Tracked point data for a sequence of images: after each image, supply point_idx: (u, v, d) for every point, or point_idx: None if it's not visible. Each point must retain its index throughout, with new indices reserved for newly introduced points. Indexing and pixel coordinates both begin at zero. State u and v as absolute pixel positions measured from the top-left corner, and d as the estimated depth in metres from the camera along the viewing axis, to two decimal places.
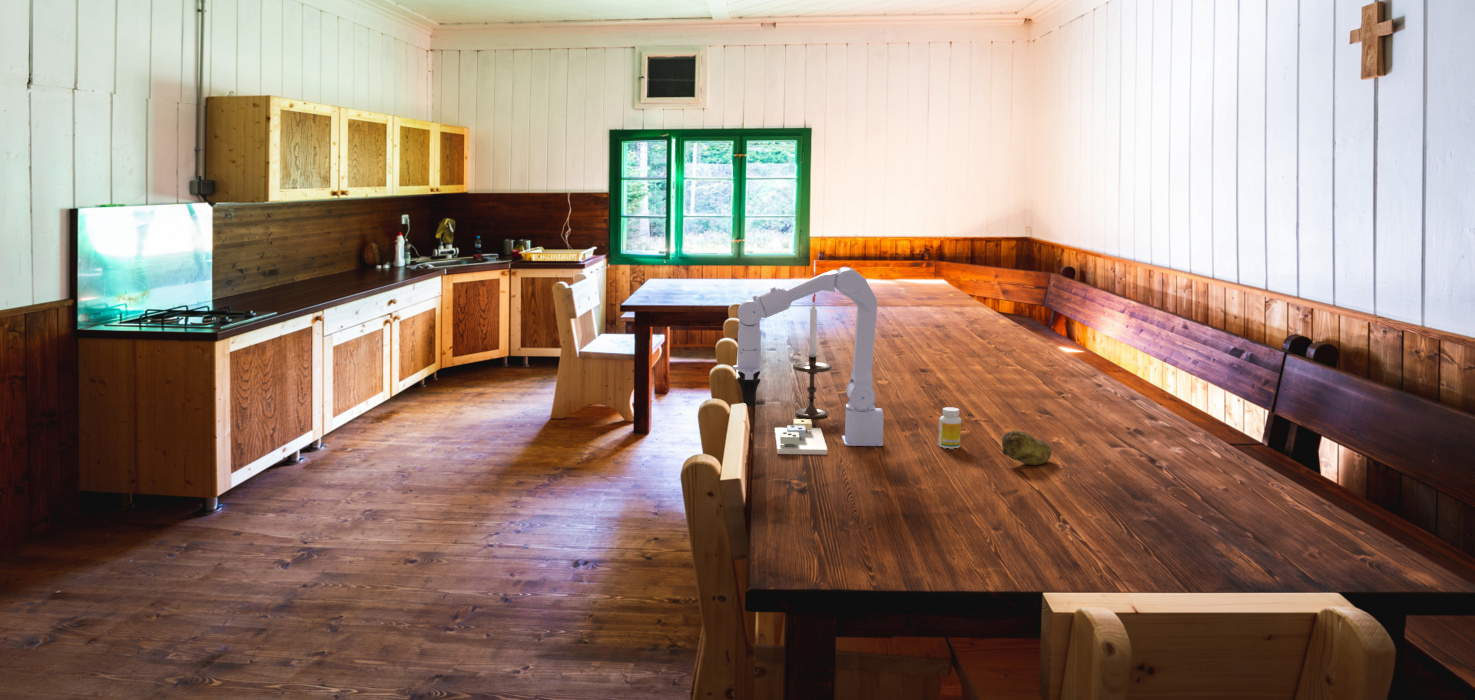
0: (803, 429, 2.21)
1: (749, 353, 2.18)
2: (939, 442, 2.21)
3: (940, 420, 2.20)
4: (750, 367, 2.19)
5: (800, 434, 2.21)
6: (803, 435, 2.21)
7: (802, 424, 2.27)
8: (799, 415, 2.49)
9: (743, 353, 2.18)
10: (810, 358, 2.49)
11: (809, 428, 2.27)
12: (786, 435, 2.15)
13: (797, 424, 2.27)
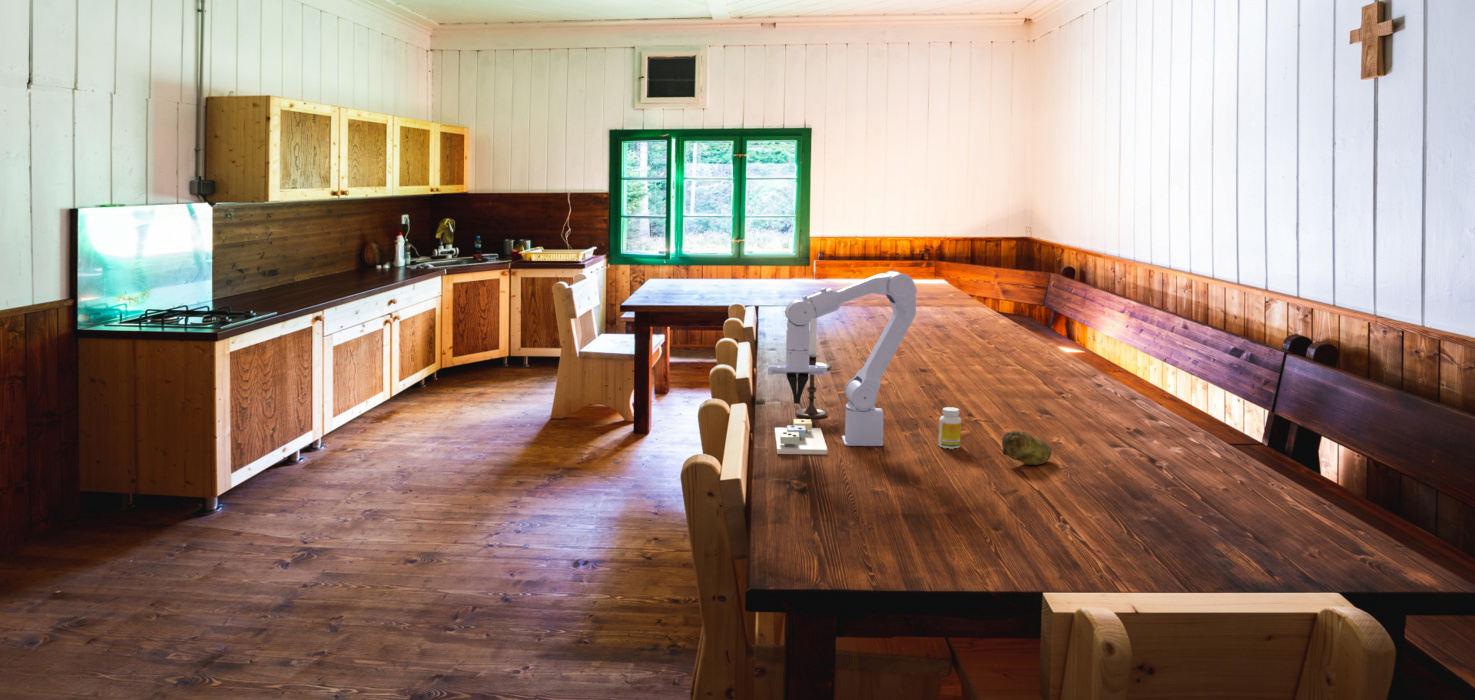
0: (803, 429, 2.21)
1: (786, 351, 2.19)
2: (939, 442, 2.21)
3: (940, 420, 2.20)
4: (786, 365, 2.20)
5: (800, 434, 2.21)
6: (803, 435, 2.21)
7: (802, 424, 2.27)
8: (799, 415, 2.49)
9: None
10: (810, 358, 2.49)
11: (809, 428, 2.27)
12: (786, 435, 2.15)
13: (797, 424, 2.27)
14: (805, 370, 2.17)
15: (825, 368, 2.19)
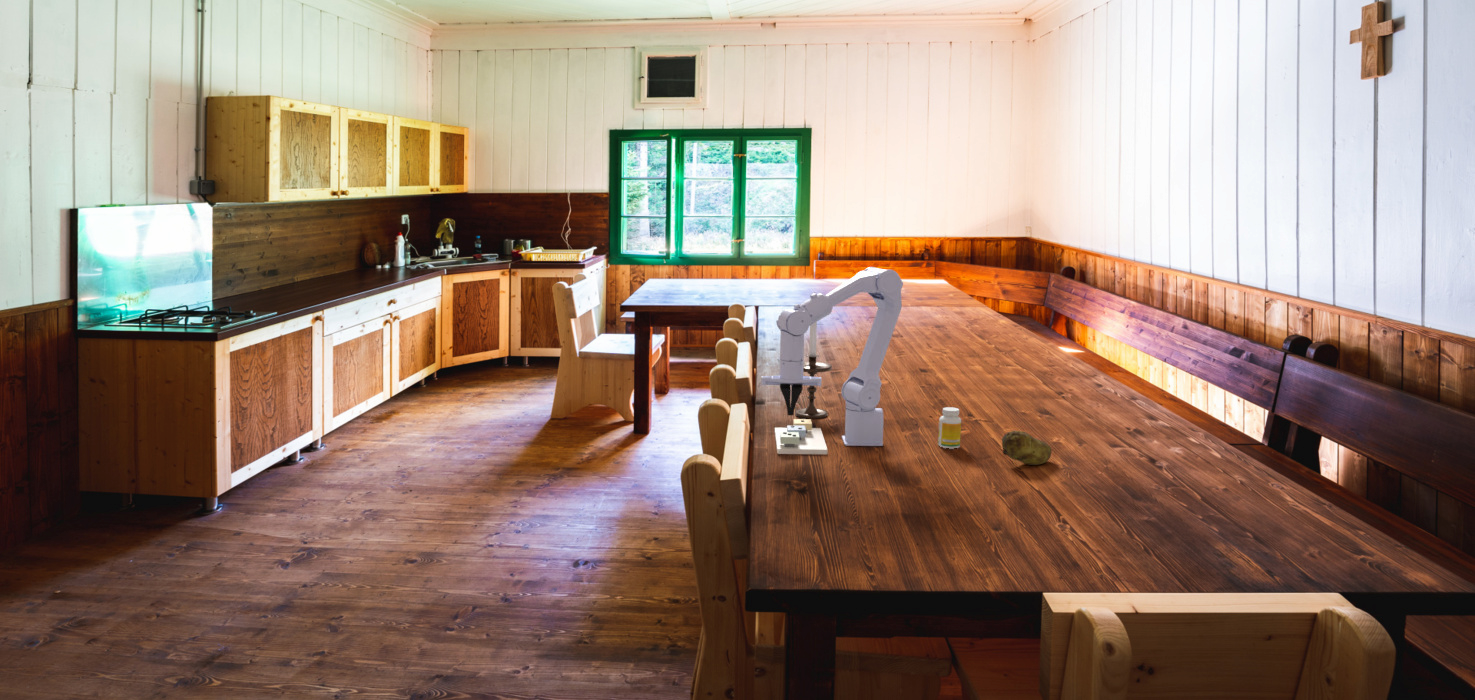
0: (803, 429, 2.21)
1: (780, 362, 2.14)
2: (939, 442, 2.21)
3: (940, 420, 2.20)
4: (779, 376, 2.14)
5: (800, 434, 2.21)
6: (803, 435, 2.21)
7: (802, 424, 2.27)
8: (799, 415, 2.49)
9: None
10: (810, 358, 2.49)
11: (809, 428, 2.27)
12: (786, 435, 2.15)
13: (797, 424, 2.27)
14: (799, 381, 2.12)
15: (819, 379, 2.14)
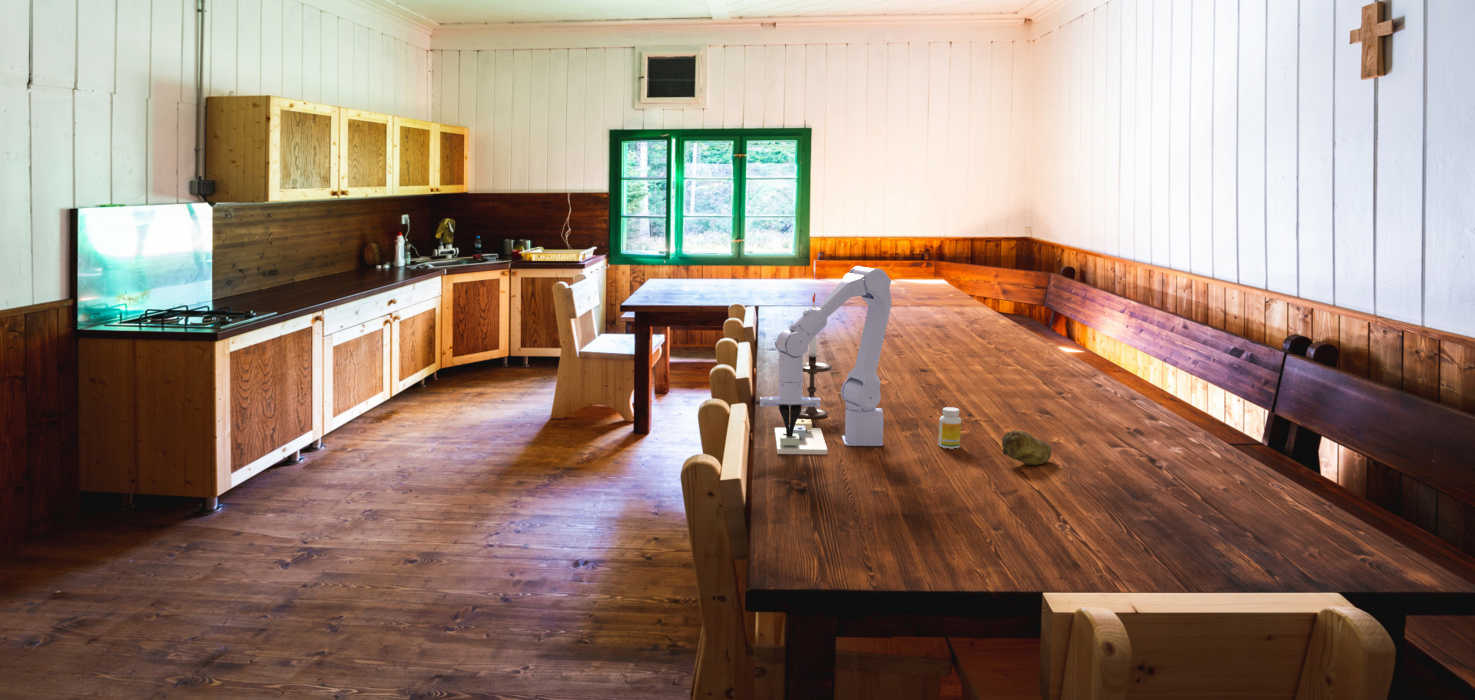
0: (803, 429, 2.21)
1: None
2: (939, 442, 2.21)
3: (940, 420, 2.20)
4: (778, 397, 2.14)
5: (800, 434, 2.21)
6: (803, 435, 2.21)
7: (802, 424, 2.27)
8: (799, 415, 2.49)
9: None
10: (810, 358, 2.49)
11: (809, 428, 2.27)
12: (786, 436, 2.15)
13: (797, 424, 2.27)
14: (798, 402, 2.12)
15: (818, 400, 2.14)
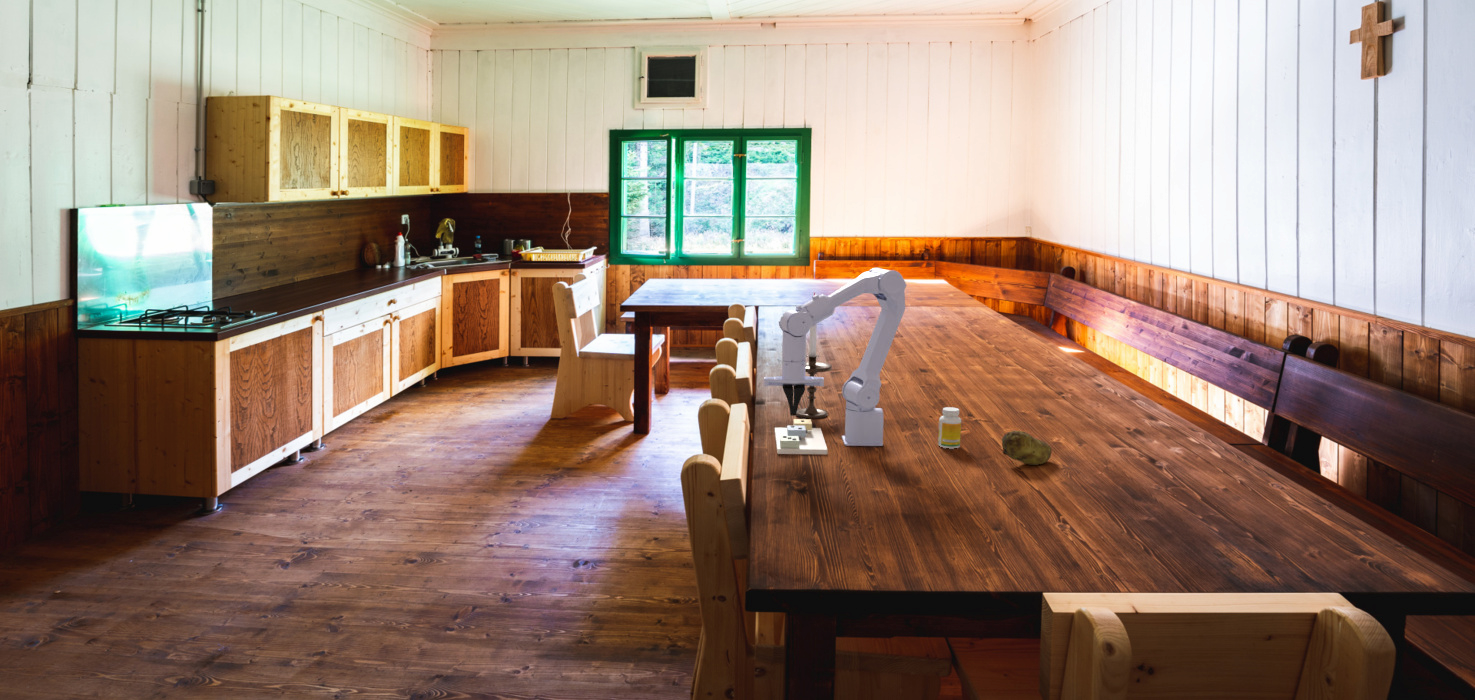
0: (803, 429, 2.21)
1: (782, 362, 2.16)
2: (939, 442, 2.21)
3: (940, 420, 2.20)
4: (782, 377, 2.16)
5: (800, 434, 2.21)
6: (803, 435, 2.21)
7: (802, 424, 2.27)
8: (799, 415, 2.49)
9: None
10: (810, 358, 2.49)
11: (809, 428, 2.27)
12: (786, 439, 2.15)
13: (797, 424, 2.27)
14: (801, 381, 2.14)
15: (822, 379, 2.16)
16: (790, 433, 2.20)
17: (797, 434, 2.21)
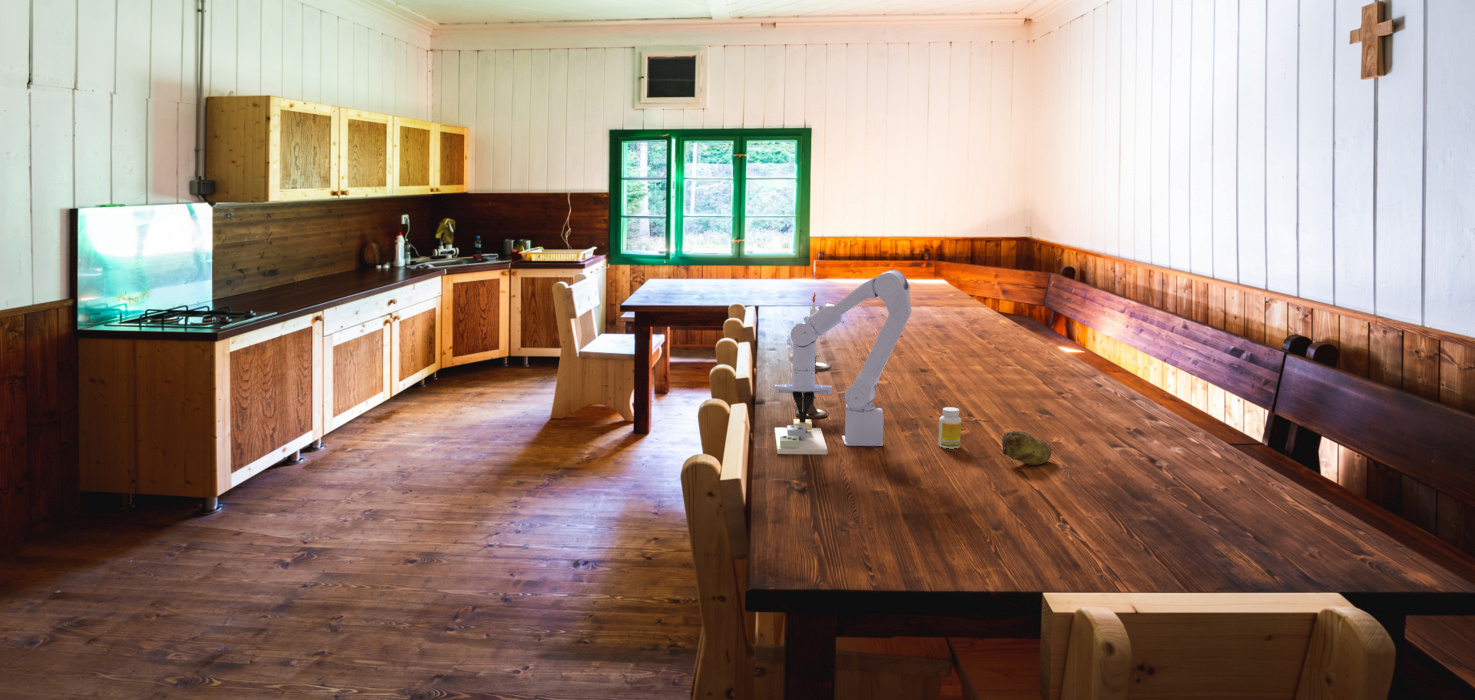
0: (803, 429, 2.21)
1: (792, 371, 2.27)
2: (939, 442, 2.21)
3: (940, 420, 2.20)
4: (792, 385, 2.27)
5: (800, 434, 2.21)
6: (803, 435, 2.21)
7: (802, 424, 2.27)
8: None
9: None
10: None
11: (809, 428, 2.27)
12: (786, 439, 2.15)
13: (797, 424, 2.27)
14: (811, 389, 2.25)
15: (830, 387, 2.26)
16: (790, 433, 2.20)
17: (797, 434, 2.21)
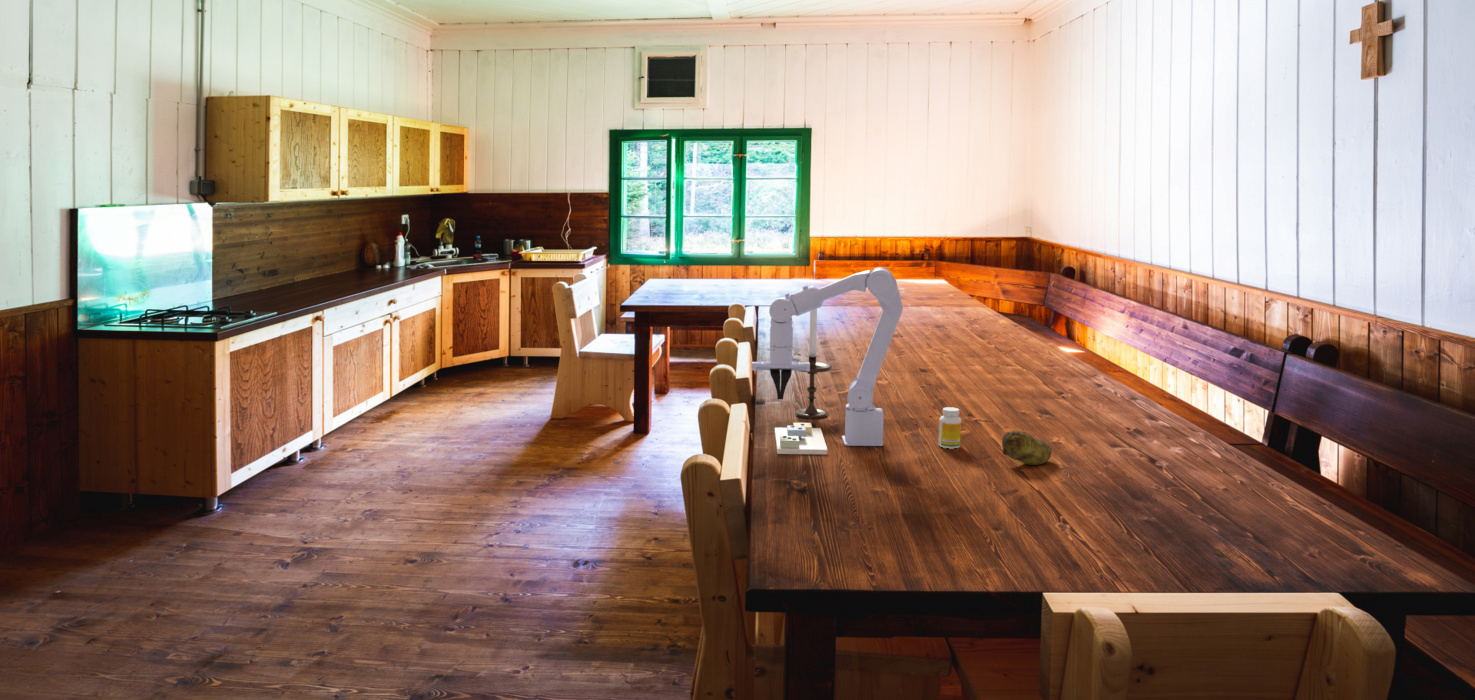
0: (803, 429, 2.21)
1: None
2: (939, 442, 2.21)
3: (940, 420, 2.20)
4: (769, 362, 2.24)
5: (800, 434, 2.21)
6: (803, 435, 2.21)
7: None
8: (799, 415, 2.49)
9: None
10: (810, 358, 2.49)
11: (809, 432, 2.27)
12: (786, 439, 2.15)
13: None
14: (788, 366, 2.22)
15: (808, 364, 2.23)
16: (790, 433, 2.20)
17: (797, 434, 2.21)
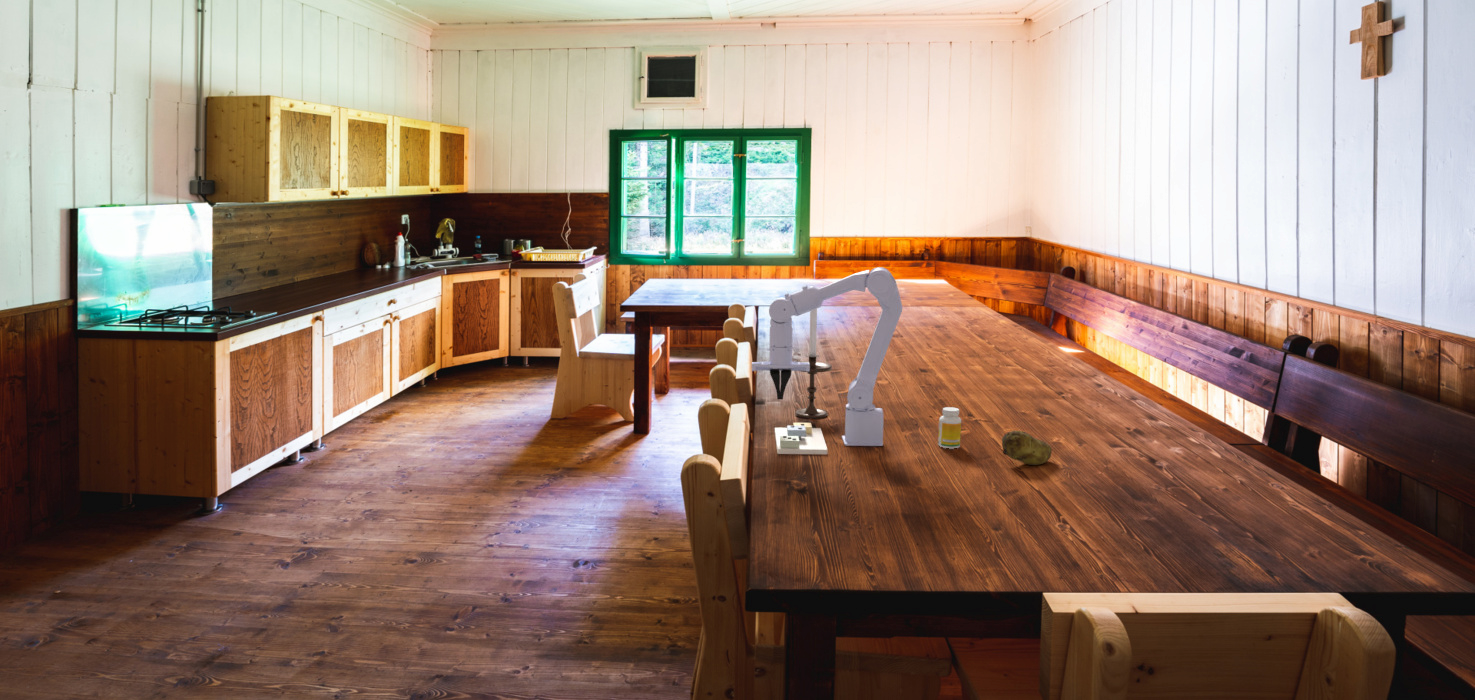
0: (803, 429, 2.21)
1: None
2: (939, 442, 2.21)
3: (940, 420, 2.20)
4: (769, 362, 2.24)
5: (800, 434, 2.21)
6: (803, 435, 2.21)
7: None
8: (799, 415, 2.49)
9: None
10: (810, 358, 2.49)
11: (809, 432, 2.27)
12: (786, 439, 2.15)
13: None
14: (788, 366, 2.22)
15: (807, 364, 2.23)
16: (790, 433, 2.20)
17: (797, 434, 2.21)
